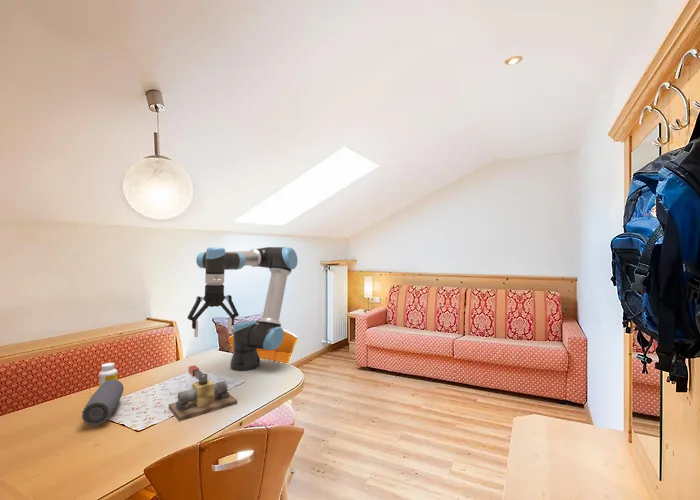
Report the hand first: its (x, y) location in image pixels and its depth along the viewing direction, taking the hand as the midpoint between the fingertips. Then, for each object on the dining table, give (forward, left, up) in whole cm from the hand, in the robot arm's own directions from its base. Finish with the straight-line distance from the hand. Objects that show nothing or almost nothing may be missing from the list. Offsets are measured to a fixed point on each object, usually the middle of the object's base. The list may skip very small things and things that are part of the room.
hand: (213, 335), depth 154 cm
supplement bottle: (+33, -33, -27) cm, 54 cm away
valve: (+6, +5, -26) cm, 28 cm away
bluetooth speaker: (+37, -12, -27) cm, 47 cm away
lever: (+6, -1, -17) cm, 18 cm away
